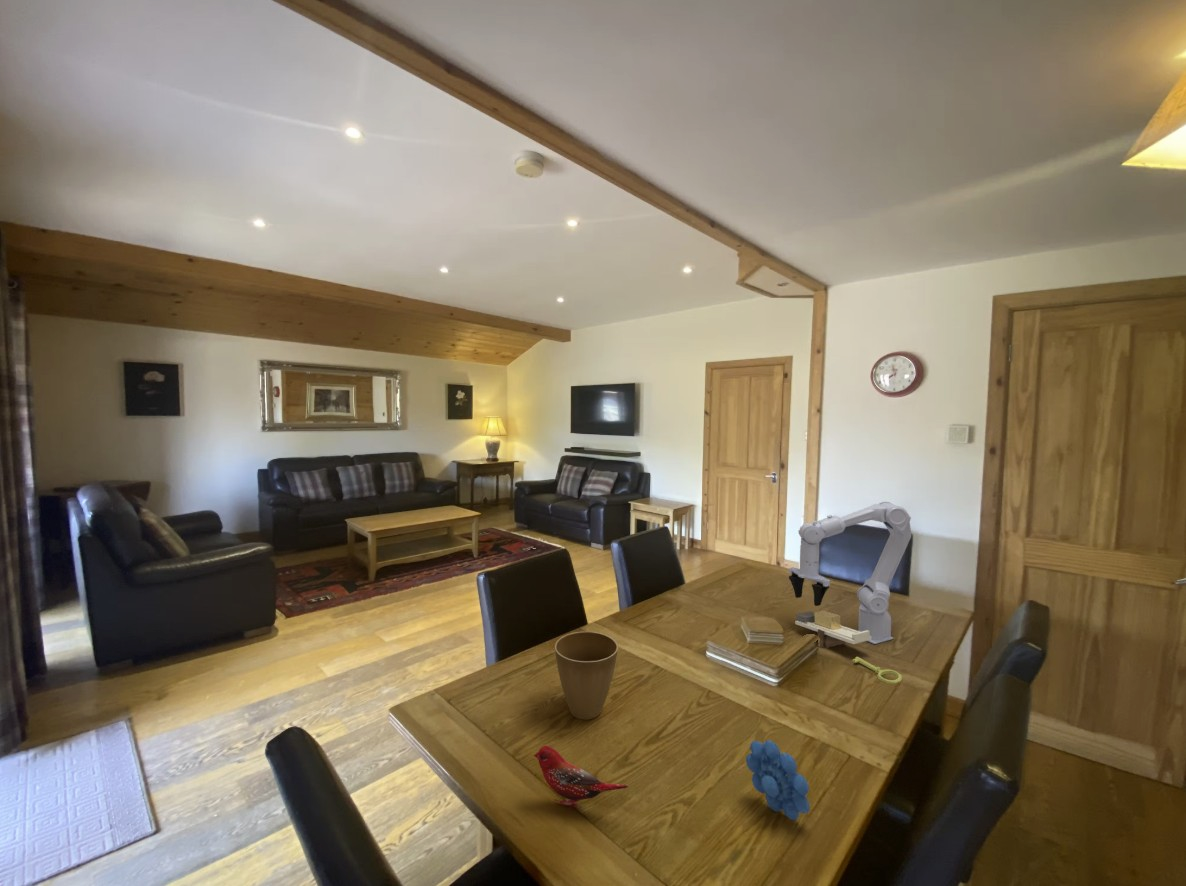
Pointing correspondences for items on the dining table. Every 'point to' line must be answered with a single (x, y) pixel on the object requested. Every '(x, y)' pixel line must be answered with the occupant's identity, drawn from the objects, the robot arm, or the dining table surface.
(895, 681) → the key
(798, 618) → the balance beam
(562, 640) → the plant pot
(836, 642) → the fulcrum stand
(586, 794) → the decorative bird figurine
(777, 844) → the dining table surface
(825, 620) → the block
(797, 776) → the blue flower
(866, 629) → the robot arm
